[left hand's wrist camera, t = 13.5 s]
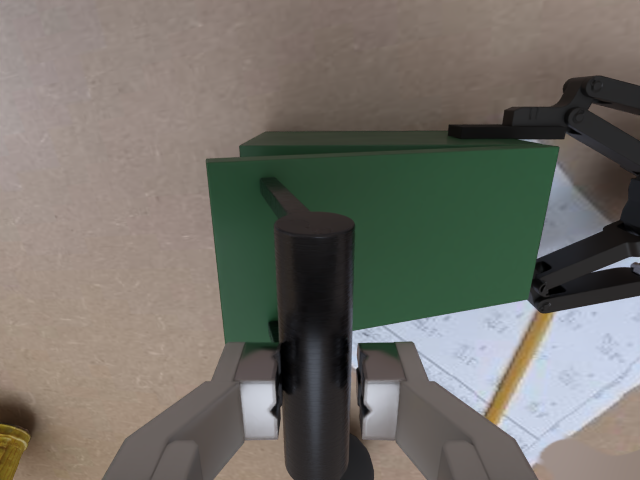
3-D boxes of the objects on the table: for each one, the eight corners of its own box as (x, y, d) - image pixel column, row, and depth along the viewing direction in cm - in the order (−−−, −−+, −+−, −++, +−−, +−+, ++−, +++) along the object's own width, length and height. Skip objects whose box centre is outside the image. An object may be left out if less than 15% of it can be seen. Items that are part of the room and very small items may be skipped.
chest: (270, 235, 34) (249, 291, 24) (264, 131, 31) (238, 145, 21) (457, 234, 34) (515, 289, 24) (470, 130, 31) (543, 143, 21)
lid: (224, 339, 19) (245, 526, 11) (205, 158, 16) (213, 220, 8) (512, 290, 24) (684, 393, 16) (540, 144, 21) (773, 171, 12)
